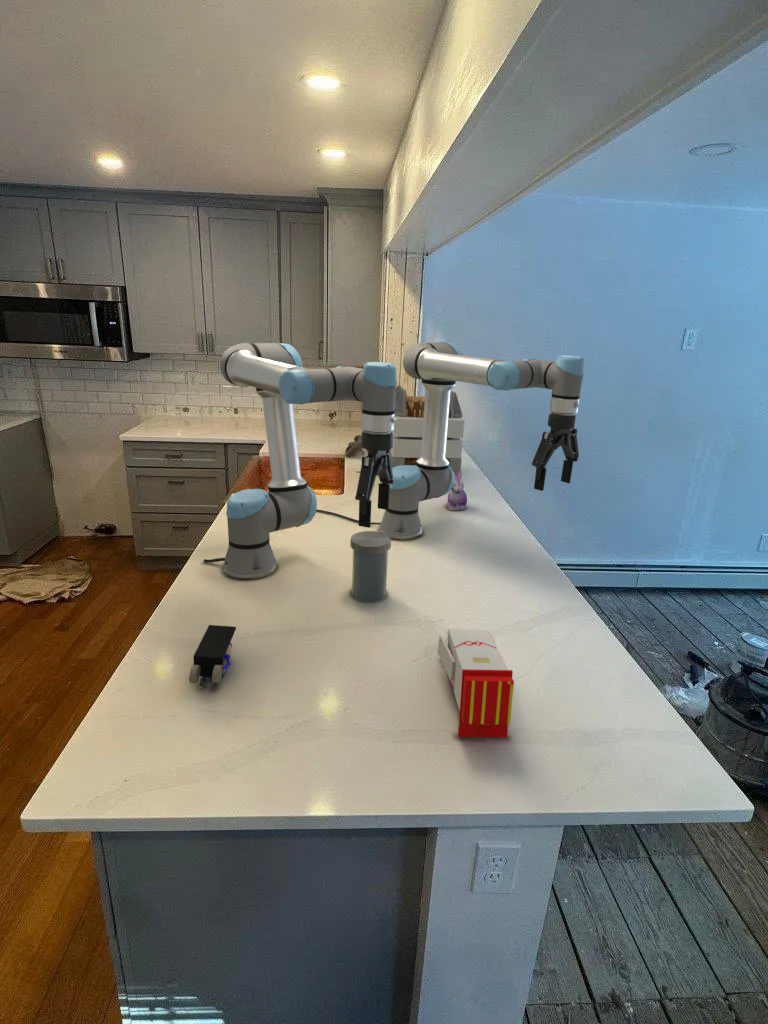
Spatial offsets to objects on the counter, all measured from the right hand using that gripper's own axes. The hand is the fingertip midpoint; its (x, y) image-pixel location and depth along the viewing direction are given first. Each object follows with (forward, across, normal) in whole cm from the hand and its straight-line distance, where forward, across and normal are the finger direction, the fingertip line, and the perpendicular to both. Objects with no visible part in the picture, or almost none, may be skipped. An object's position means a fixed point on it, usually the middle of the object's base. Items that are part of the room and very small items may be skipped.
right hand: (552, 485), depth 166 cm
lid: (+12, -51, +20) cm, 56 cm away
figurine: (+28, +24, +56) cm, 67 cm away
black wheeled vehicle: (+28, -100, +12) cm, 105 cm away
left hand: (+2, -58, +12) cm, 59 cm away
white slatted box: (+28, +46, +101) cm, 115 cm away
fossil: (+28, +44, +147) cm, 156 cm away
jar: (+28, -51, +20) cm, 62 cm away
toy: (+28, -62, -26) cm, 72 cm away
